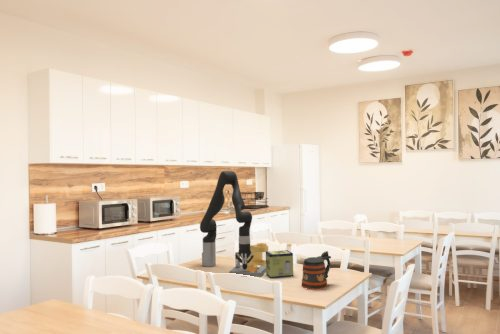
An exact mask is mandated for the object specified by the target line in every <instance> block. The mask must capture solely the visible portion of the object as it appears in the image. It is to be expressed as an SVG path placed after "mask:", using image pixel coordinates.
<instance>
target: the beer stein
mask: <svg viewBox="0 0 500 334" xmlns="http://www.w3.org/2000/svg"><path fill="white" fill-rule="evenodd" d="M331 258H332V256H330V255H329V251H326V250H325V251H324V252H322V253H321V255H319V256H315V257H314V256H313V257H307V258H305V259H304V260H303V263H302V279H301V288H303V289H305V288H307V289H306V290H312V289H319V290H324V289H326V287H327V288H328V277H329V271H330V268H331V260H330V259H331ZM325 261H326V263H327V265H326V264H325ZM323 288H324V289H323Z"/></svg>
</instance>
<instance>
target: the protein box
mask: <svg viewBox="0 0 500 334" xmlns="http://www.w3.org/2000/svg"><path fill="white" fill-rule="evenodd" d="M265 261H266V272H265V275H266V276H267V277H268V278H270V279H279V278H290V277H291V276H292V277H294V253H293V252H292V251H290V250H289V249H285V250H271V251H269V250H268V251H267V252H265Z"/></svg>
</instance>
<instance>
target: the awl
mask: <svg viewBox="0 0 500 334" xmlns="http://www.w3.org/2000/svg"><path fill="white" fill-rule="evenodd" d="M238 252H239V251H238ZM238 252H235V253H234V254H235V255H236V254H238ZM235 255H234V257H235ZM239 257H240V255H239ZM240 258H241V257H240ZM234 262H235V266H234V267H235V268H240V265H241V263H240V262H239V261H238V259H237V258H236V257H235V261H234Z"/></svg>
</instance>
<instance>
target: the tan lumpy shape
mask: <svg viewBox="0 0 500 334" xmlns="http://www.w3.org/2000/svg"><path fill="white" fill-rule="evenodd" d="M250 251H251V254H253V255H254V257H253V259H252V260H251V261H250V262H249V263H247V265H254V266H256V265H260V266H266V259H265V260H264V259H263V253H266V252H267V251H269V245H267V243H266V242H261V243H259V242H258V243H256V244H250ZM250 258H251V257H250V256H249V257H248V260H249V259H250Z"/></svg>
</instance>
